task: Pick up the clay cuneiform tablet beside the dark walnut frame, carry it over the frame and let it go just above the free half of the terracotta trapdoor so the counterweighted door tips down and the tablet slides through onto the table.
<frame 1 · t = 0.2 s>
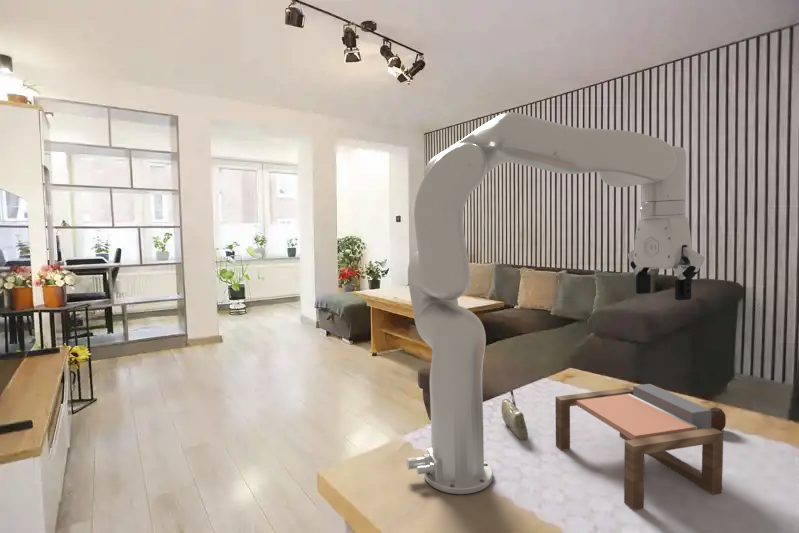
hand: (662, 296, 89), 31 cm above the table, tool pointing down, fingers open, 9 cm apart
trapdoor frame: (630, 466, 83), on the table
trapdoor: (641, 413, 83), point 10 cm above the table, hinge at 0.0°
cuneiform tablet: (515, 428, 101), on the table
bolt: (684, 421, 102), on the table
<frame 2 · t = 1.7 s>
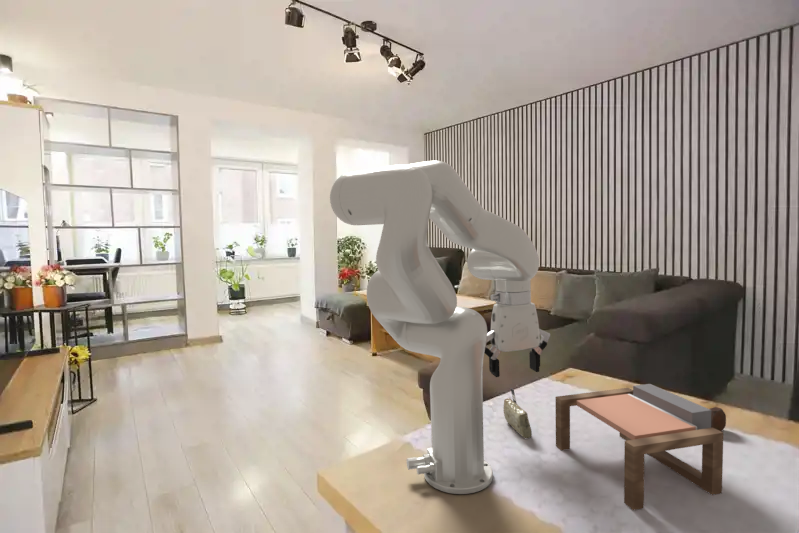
hand: (515, 372, 100), 13 cm above the table, tool pointing down, fingers open, 9 cm apart
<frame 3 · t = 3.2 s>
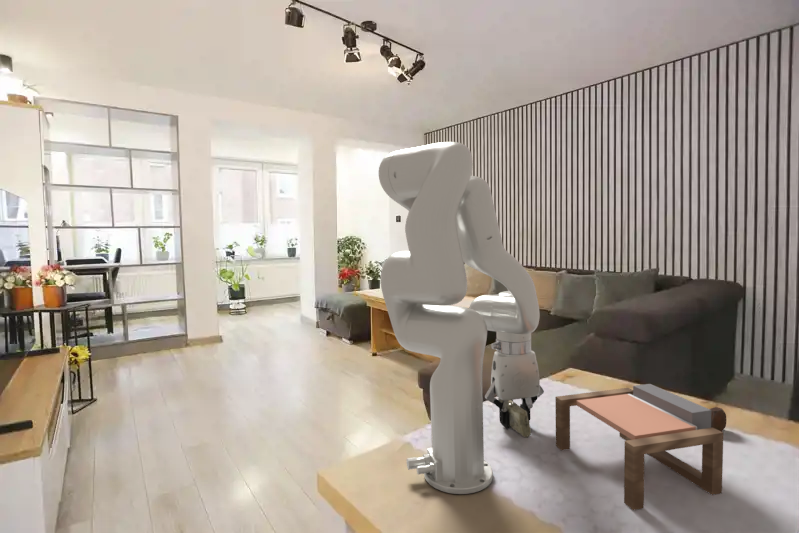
hand: (515, 424, 101), 1 cm above the table, tool pointing down, fingers closed on cuneiform tablet, 4 cm apart
cuneiform tablet: (515, 426, 102), on the table, touching gripper
everything else where it was.
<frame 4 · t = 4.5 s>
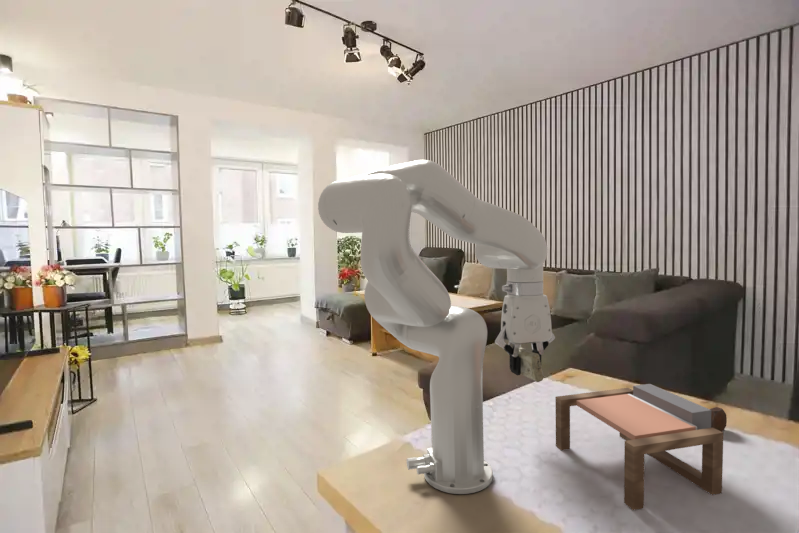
hand: (525, 371, 97), 14 cm above the table, tool pointing down, fingers closed on cuneiform tablet, 4 cm apart
cuneiform tablet: (525, 374, 98), point 13 cm above the table, touching gripper
everything else where it was.
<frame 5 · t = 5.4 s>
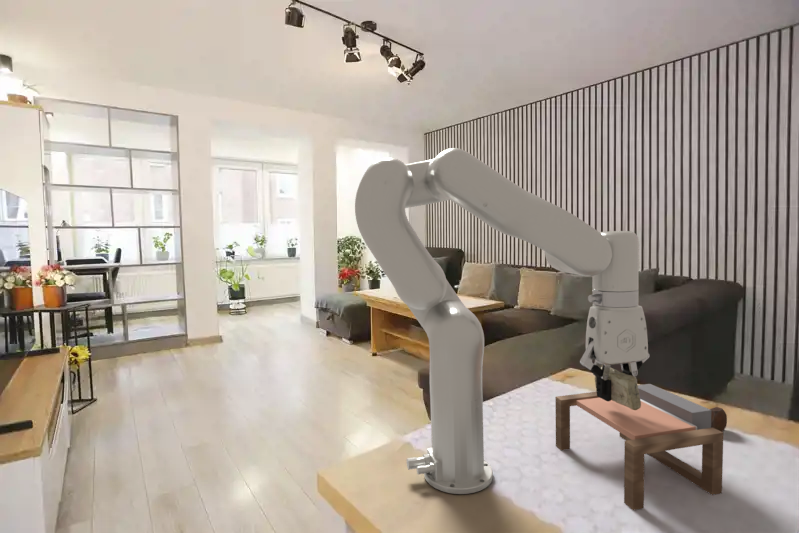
hand: (615, 396, 82), 14 cm above the table, tool pointing down, fingers closed on cuneiform tablet, 4 cm apart
cuneiform tablet: (614, 399, 83), point 13 cm above the table, touching gripper
everything else where it was.
when the fingers open (13 cm above the table, at t = 5.7 s): cuneiform tablet drops 6 cm, point 7 cm above the table.
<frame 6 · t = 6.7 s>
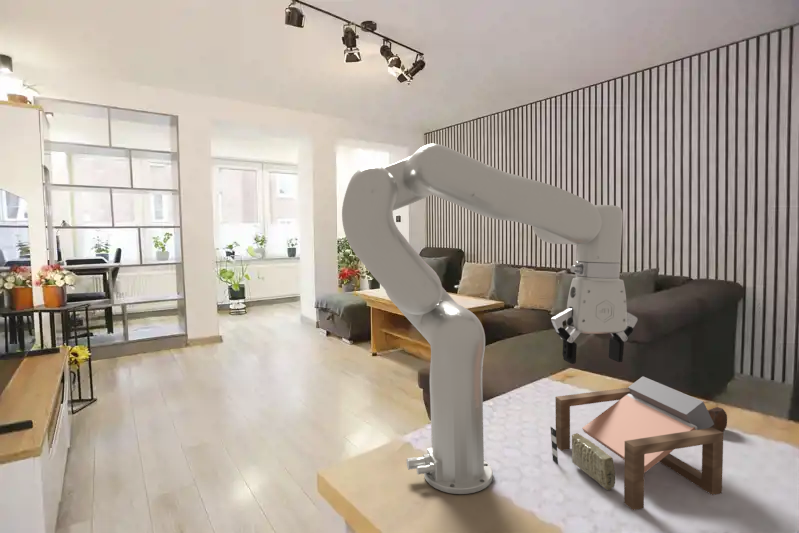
hand: (592, 361, 84), 20 cm above the table, tool pointing down, fingers open, 9 cm apart
trapdoor: (643, 423, 83), point 8 cm above the table, hinge at -29.0°
cuneiform tablet: (583, 439, 80), point 7 cm above the table
everything else where it was.
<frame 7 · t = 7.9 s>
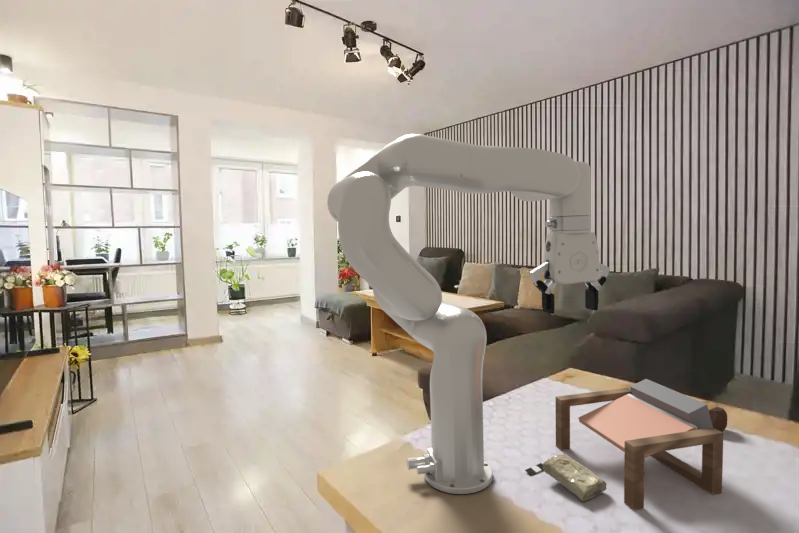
hand: (570, 311, 89), 28 cm above the table, tool pointing down, fingers open, 9 cm apart
trapdoor: (641, 419, 83), point 9 cm above the table, hinge at -17.3°
cuneiform tablet: (553, 477, 77), point 2 cm above the table
everything else where it was.
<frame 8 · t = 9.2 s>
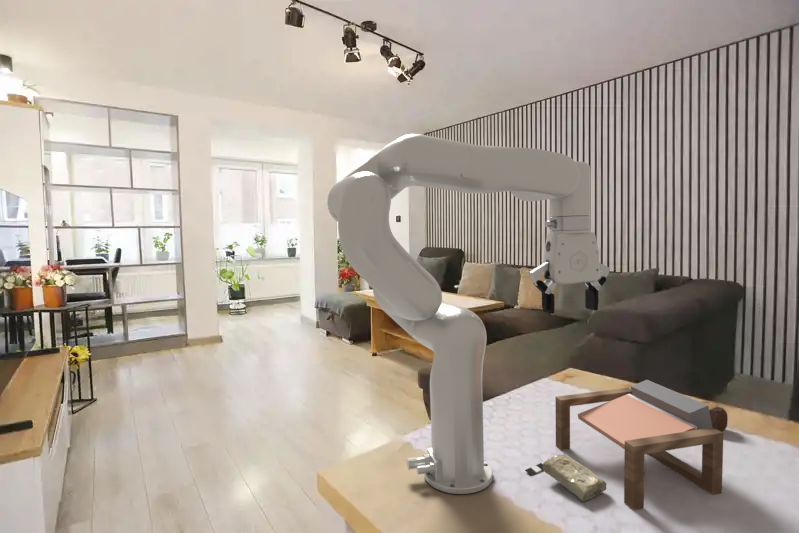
hand: (570, 311, 89), 28 cm above the table, tool pointing down, fingers open, 9 cm apart
trapdoor: (641, 418, 83), point 9 cm above the table, hinge at -13.7°
everything else where it was.
at the end: cuneiform tablet point 1.9 cm above the table; cuneiform tablet inside the target area on the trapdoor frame (10.7 cm from its centre), point 1.9 cm above the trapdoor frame's base; the gripper is holding nothing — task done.
